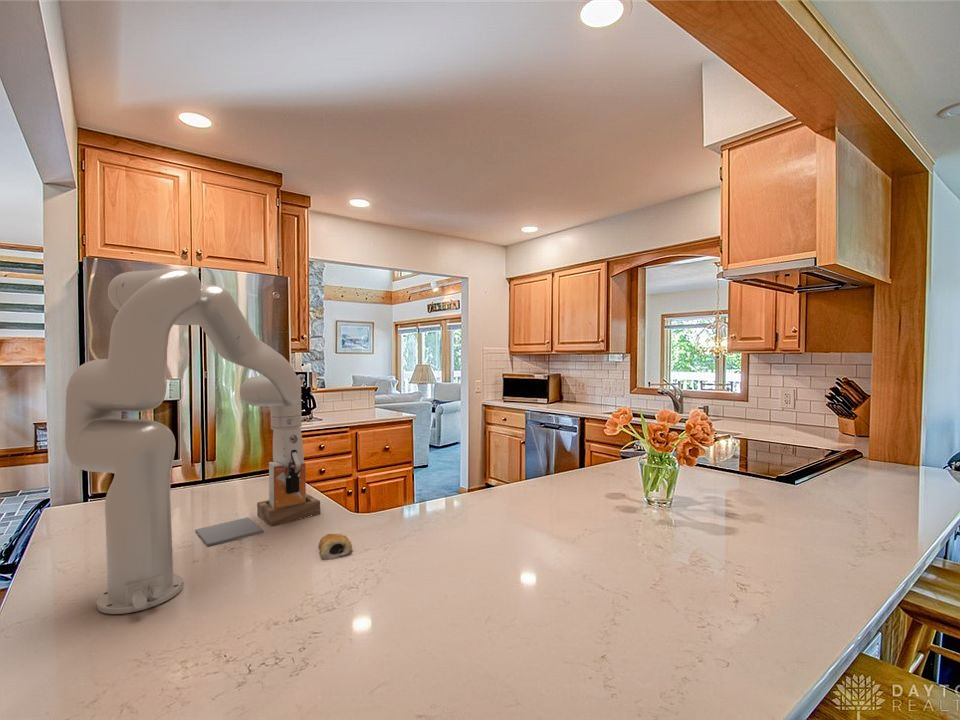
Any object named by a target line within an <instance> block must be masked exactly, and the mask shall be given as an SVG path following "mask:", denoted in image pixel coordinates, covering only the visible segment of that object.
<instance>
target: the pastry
mask: <svg viewBox="0 0 960 720" xmlns="http://www.w3.org/2000/svg"><path fill="white" fill-rule="evenodd" d="M352 548H353V544H352V542H351V541H350V540H349V537H347V536H346V535H345V534H344V535H343V534H341V533H327V534H326V535H324V536H323V537H321V539H320V541H319V542H318V550H319V552H320V557H321V559H322V560H325V559H326V560H333V559H337V558H340V557H344V556H347V555H348V554H350V553H351V552H352ZM336 557H337V558H336Z"/></svg>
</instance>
